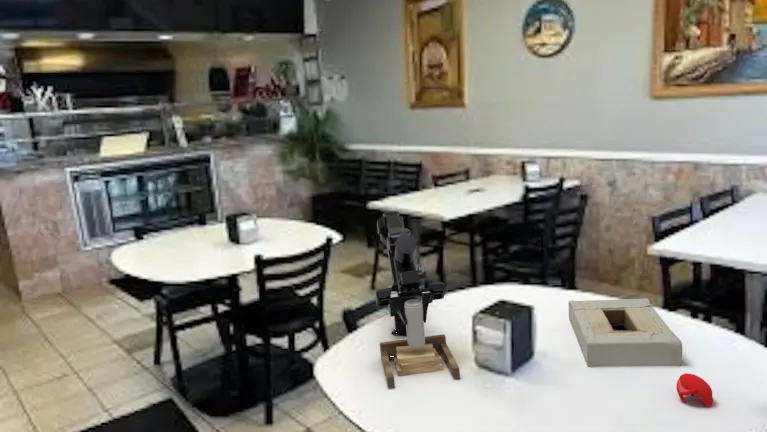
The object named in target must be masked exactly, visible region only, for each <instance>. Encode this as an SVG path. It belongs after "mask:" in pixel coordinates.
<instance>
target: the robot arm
mask: <svg viewBox="0 0 767 432" xmlns="http://www.w3.org/2000/svg"><path fill="white" fill-rule="evenodd" d="M376 221H377V222H376V229H377V230H376V231H377V235H378V236H379V237H380V241H381V243H382V244H383V245H384V246H385V247H386V251H387V255H388V261H389V263H388V264H389V268H390V273H391V279H392V286H391V288H390V287H388V288H380V289H377V290H376V291H375V302H376V307H378V308H379V307H388V313H389V315H390V317H394V329H393V330H392V332H391V335H395V336H396V335H398V336H407V330H406V325H407V321H406V316H405V307H404V305H405V302H406V301H408V300H412V299H417V300H419V298H418V297H421V298H422V300H421V301H422V305H423V320H424V324H425V323H427V313H428V309H429V308H428V307H429V304H433V302H434V301H436V300H437V301H438V300H442V299H444V298H445V295H446V290H447V289H446V286H445V283H443V282H442V281H436V282H431V283H429V284H428V287H427V288H426V287H425V288H420V287H422V286H421V285H422V282H421V281H422V280H426V279H427V278H428V277H427V276H428V275H427V271H426V266H420V267H418V268H417V269H416V263H415V258H416V254H417V247H418V245H419V242H418V239H417V237H415V236H414V234H413V233H412V232H411V231H410V229H409V228H407V227H405V224H404V218H403V216H402V215H400V212H399V211H397V210H395V211H394V210H393V211H386V212H383V213H382V216H381V217H380V218H378V219H377V220H376ZM395 329H396V330H395ZM396 332H397V333H396Z"/></svg>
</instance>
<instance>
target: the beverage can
mask: <svg viewBox="0 0 767 432" xmlns="http://www.w3.org/2000/svg"><path fill="white" fill-rule="evenodd" d="M404 307H405V316H406V321H407V325H406V330H407V335H406V339H407V342H408V345H409V346H411V347H421V346H423V345H424V344H425V337H426V335H425V326H424V325H425V323H424V320H423V305H422V300H421V299H418V300H417V299H412V300H408V301H406V302H405V305H404Z"/></svg>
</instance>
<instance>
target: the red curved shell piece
mask: <svg viewBox="0 0 767 432" xmlns="http://www.w3.org/2000/svg"><path fill="white" fill-rule="evenodd" d="M675 387H676V391H677V396H679V399H680V401H681V403H683V404H684V403H686V400H685V397H684V396H691V397H693V396H695V397H697V398H699V399H701V401H702V403H703V404H704V405H706V406H707V407H708V408H711V407H712V406H713V404H714V398H713V397H714V396H713V390H712V387H711V386H710V385H709V383H707V381H705V379H703V378H702V377H700V376H699V375H696V374H693V373H689V372H688V373H686V372H685V373H683V374H680V376H679V378H678V379H677V381H676V386H675Z"/></svg>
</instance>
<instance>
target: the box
mask: <svg viewBox="0 0 767 432" xmlns="http://www.w3.org/2000/svg"><path fill="white" fill-rule="evenodd" d="M568 318H569V319H568V320H569V322H570V325H571V328H572V329H573V333H574V335H575V338H576V340H577V342H578V346H579V348H580V351H581V353H582V356H583V359H584V361H585V363H586V364H585V365H586V366H587V367H659V366H660V367H663V366H664V367H666V366H667V367H677V366H679V367H681V366H682V364H683V363H682V361H683V342H682V340H681V339H680V338H679V337H678V335H676V334H675V333H674V332H673V330H672V329H670V327H669V325H667V323H666V322H665V321H664V320H663V318H662V317H661V316H660V315H659V313H658V312H657V311H656V310H655V308H654V306H653V305H652V304H651V302H650V300H649V298H646V297H645V298H629V299H627V298H626V299H605V300H604V299H599V300H595V299H594V300H569V301H568ZM620 326H622V327H624V330H622V329H618V328H617V329H614V328H613V327H620Z"/></svg>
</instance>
